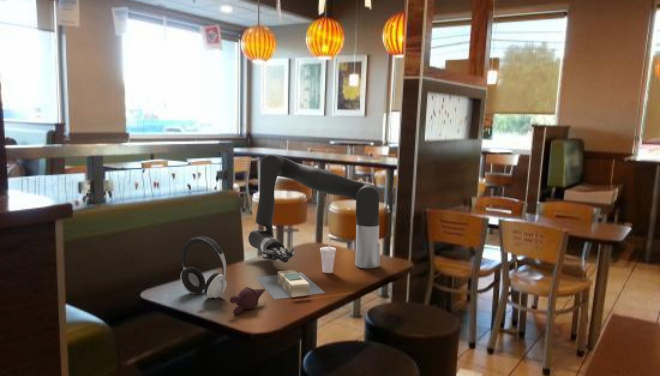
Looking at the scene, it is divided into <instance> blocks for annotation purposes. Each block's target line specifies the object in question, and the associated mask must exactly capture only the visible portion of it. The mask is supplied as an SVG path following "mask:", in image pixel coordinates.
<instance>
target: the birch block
mask: <svg viewBox="0 0 660 376" xmlns="http://www.w3.org/2000/svg"><path fill="white" fill-rule="evenodd" d="M298 273H299V272H297V271H296V270H295V269H289V270H281V271H277V275H278V283H279V284H280V285H281V286H282V287H283V288H284V289H285V290H286V291H287V292H288V293H289V295H290V296H291V297H290V298H295V297H304V296H310V295H309V283H308V282H307V281H306V280H305V279H304V278H302V277H301V276H300V275H299V274H298Z"/></svg>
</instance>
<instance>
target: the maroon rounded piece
mask: <svg viewBox="0 0 660 376" xmlns="http://www.w3.org/2000/svg"><path fill="white" fill-rule="evenodd" d="M265 291H266V289H265V288H257V289H256V288H251V287H248V286H246V287H245V288H244V287H243V289H241V290H240V291H239V293H238V294H237V295H235V294H233V295H232V296H231V297H230V298H229V302H230V303H231V304H235V305H236V307H235V308H234V309H233V310H232V311H233V312H232V313H233V315H234V316H237V315H239V314H240V313H241V312H242V311H243V310H251V309H253V308H256V307H258V305H259V300H260V297H261V296H262V295H263V294H264V292H265Z"/></svg>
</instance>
